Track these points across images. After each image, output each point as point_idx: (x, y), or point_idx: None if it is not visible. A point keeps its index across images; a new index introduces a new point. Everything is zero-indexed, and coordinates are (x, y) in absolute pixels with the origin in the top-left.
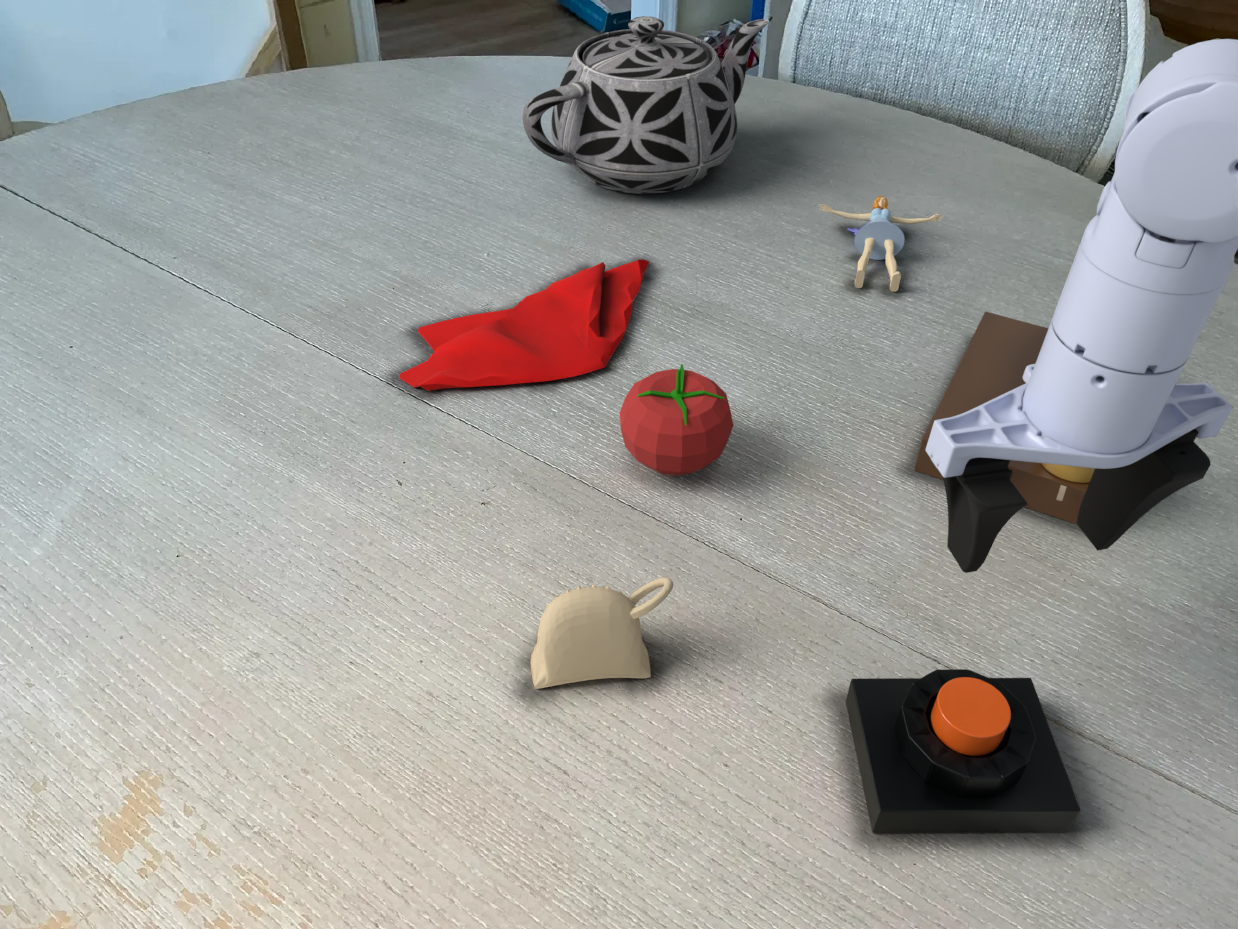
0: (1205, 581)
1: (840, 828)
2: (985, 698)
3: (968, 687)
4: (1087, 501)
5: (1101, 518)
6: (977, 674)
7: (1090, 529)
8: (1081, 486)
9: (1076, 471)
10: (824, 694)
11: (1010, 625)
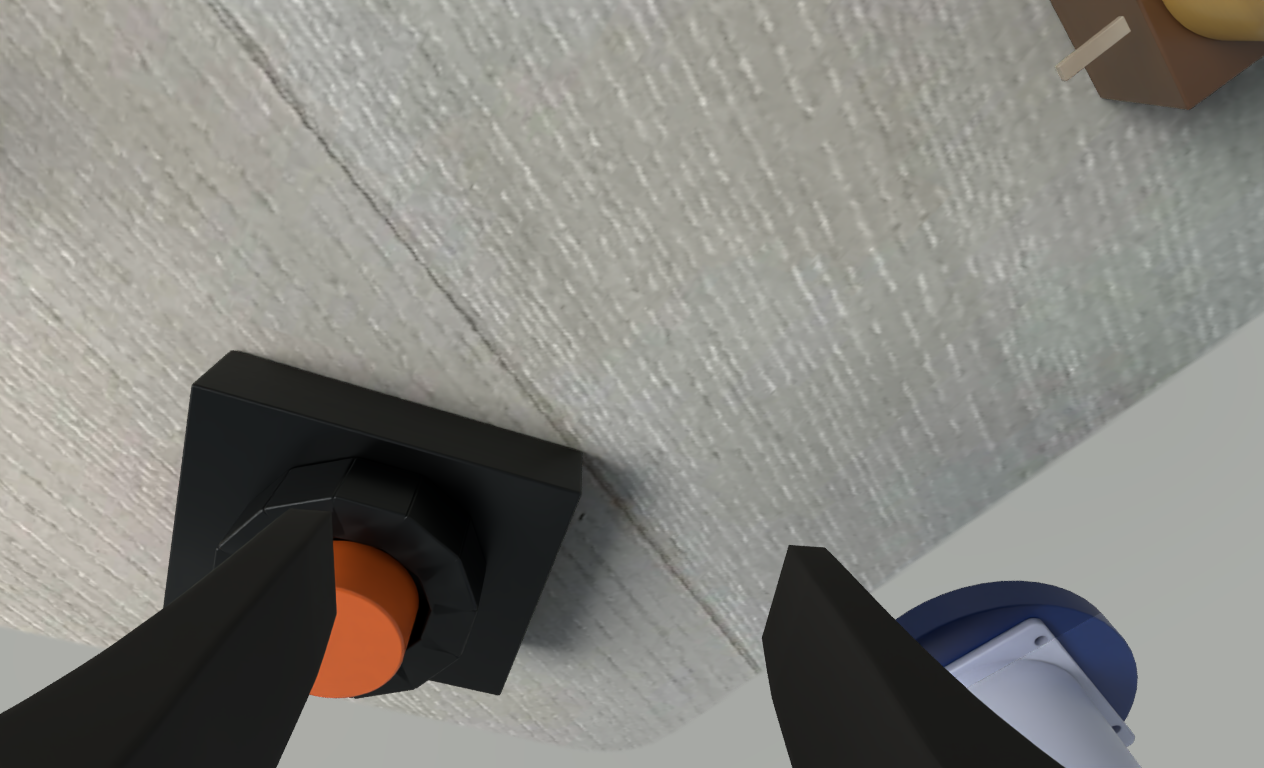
0: (1166, 336)
1: (146, 549)
2: (360, 637)
3: (337, 610)
4: (822, 622)
5: (802, 687)
6: (420, 530)
7: (783, 619)
8: (1175, 42)
9: (1204, 12)
10: (191, 318)
11: (685, 296)
